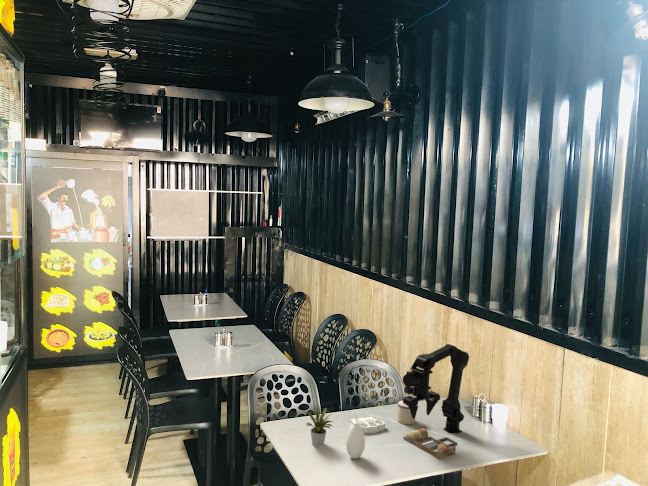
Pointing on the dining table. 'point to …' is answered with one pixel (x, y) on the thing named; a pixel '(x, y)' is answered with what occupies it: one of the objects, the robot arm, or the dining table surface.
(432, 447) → the runway mat
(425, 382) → the robot arm
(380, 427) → the white paint palette
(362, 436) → the white vase
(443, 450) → the walnut lane
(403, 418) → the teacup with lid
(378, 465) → the dining table surface
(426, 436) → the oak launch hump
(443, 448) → the ball
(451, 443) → the grey square frame
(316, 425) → the house plant
